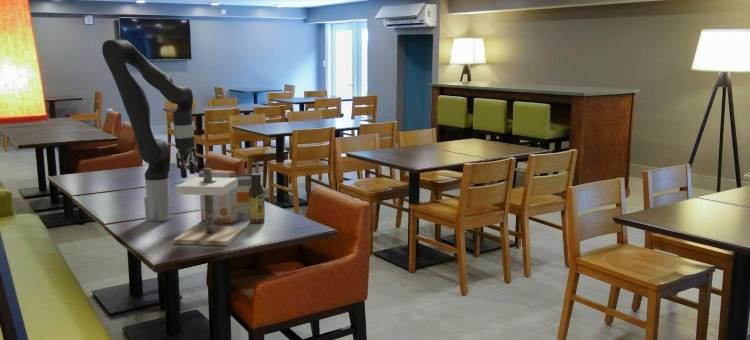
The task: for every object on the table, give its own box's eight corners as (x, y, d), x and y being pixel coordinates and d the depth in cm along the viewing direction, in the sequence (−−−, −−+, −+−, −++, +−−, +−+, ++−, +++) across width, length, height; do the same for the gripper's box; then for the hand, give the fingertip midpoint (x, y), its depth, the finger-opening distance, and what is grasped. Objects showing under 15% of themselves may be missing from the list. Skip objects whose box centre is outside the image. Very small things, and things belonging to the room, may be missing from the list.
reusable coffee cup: (256, 214, 269) (255, 179, 266) (227, 214, 269) (225, 179, 267) (262, 207, 282) (261, 174, 279) (234, 207, 282) (233, 174, 279)
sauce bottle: (261, 224, 253) (259, 175, 249) (247, 223, 254) (245, 175, 251) (267, 220, 259) (265, 172, 256) (253, 219, 260) (251, 172, 257)
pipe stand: (173, 243, 227) (169, 173, 222) (195, 228, 246) (191, 163, 242) (227, 245, 224) (223, 174, 220) (244, 230, 244) (242, 164, 239)
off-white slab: (176, 194, 225) (176, 186, 224) (195, 184, 241) (194, 177, 241) (222, 195, 223) (221, 187, 222) (238, 185, 240) (237, 177, 239)
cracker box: (238, 220, 259) (236, 170, 255) (230, 224, 253) (228, 173, 250) (209, 217, 264) (206, 168, 260) (200, 221, 258) (198, 171, 254)
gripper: (182, 134, 258) (186, 172, 260) (167, 138, 244) (172, 179, 247) (200, 133, 257) (203, 172, 260) (186, 138, 243) (190, 179, 246)
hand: (188, 175), depth 253 cm, fingers open, 8 cm apart
